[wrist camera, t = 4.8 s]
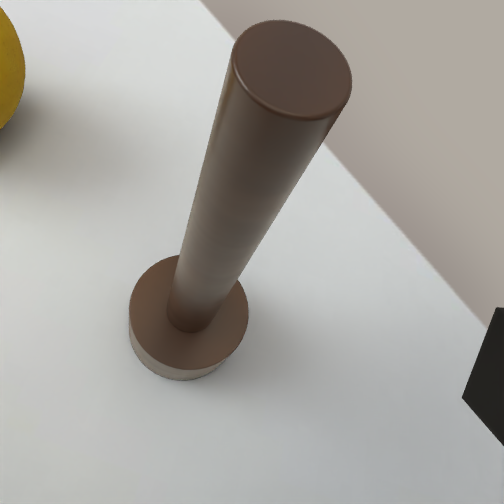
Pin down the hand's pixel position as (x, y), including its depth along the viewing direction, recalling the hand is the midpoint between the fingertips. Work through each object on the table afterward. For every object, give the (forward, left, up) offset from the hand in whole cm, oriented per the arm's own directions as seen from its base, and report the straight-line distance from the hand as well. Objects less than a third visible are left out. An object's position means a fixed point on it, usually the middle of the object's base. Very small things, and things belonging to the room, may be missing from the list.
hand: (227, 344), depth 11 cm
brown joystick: (+1, -3, -12) cm, 12 cm away
